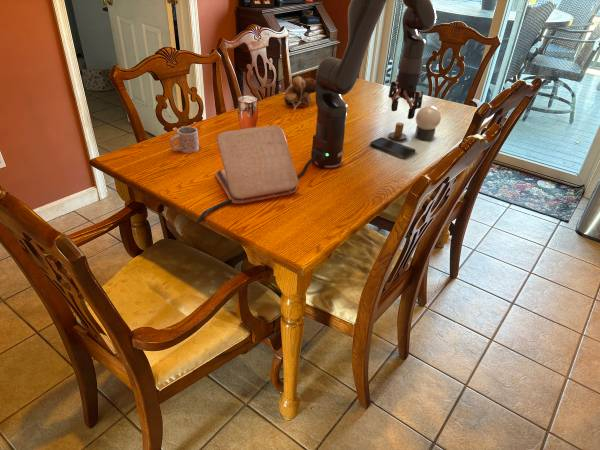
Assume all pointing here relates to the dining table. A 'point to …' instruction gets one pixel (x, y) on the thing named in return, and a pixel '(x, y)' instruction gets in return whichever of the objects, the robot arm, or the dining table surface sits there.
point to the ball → (428, 118)
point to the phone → (393, 148)
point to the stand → (424, 134)
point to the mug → (186, 140)
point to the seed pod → (300, 92)
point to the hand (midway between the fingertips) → (402, 114)
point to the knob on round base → (398, 133)
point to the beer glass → (247, 111)
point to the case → (256, 164)
